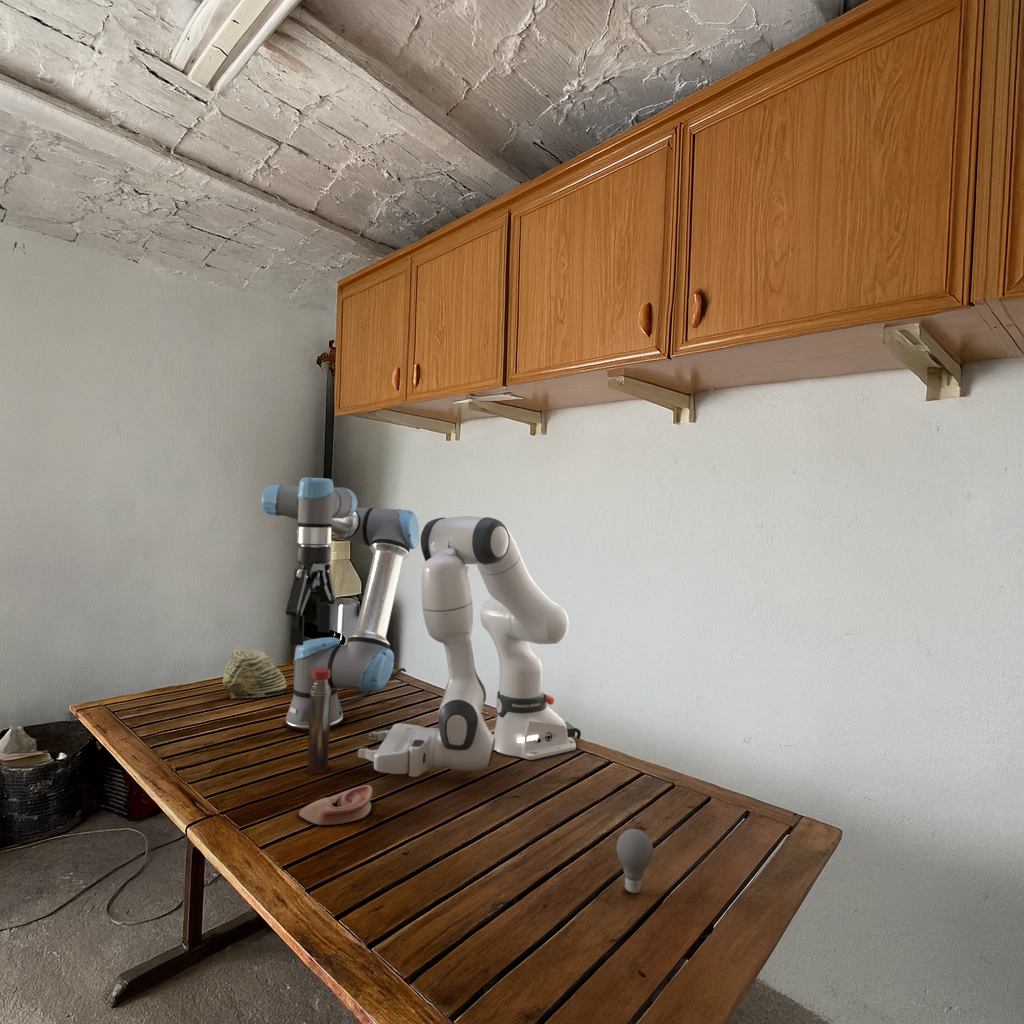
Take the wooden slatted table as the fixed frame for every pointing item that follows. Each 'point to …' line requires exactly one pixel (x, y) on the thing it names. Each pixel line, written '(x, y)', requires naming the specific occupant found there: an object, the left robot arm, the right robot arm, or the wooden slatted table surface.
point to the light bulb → (634, 857)
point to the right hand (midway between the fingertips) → (364, 744)
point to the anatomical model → (339, 807)
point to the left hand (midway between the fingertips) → (310, 638)
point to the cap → (321, 674)
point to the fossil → (252, 674)
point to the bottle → (319, 727)
